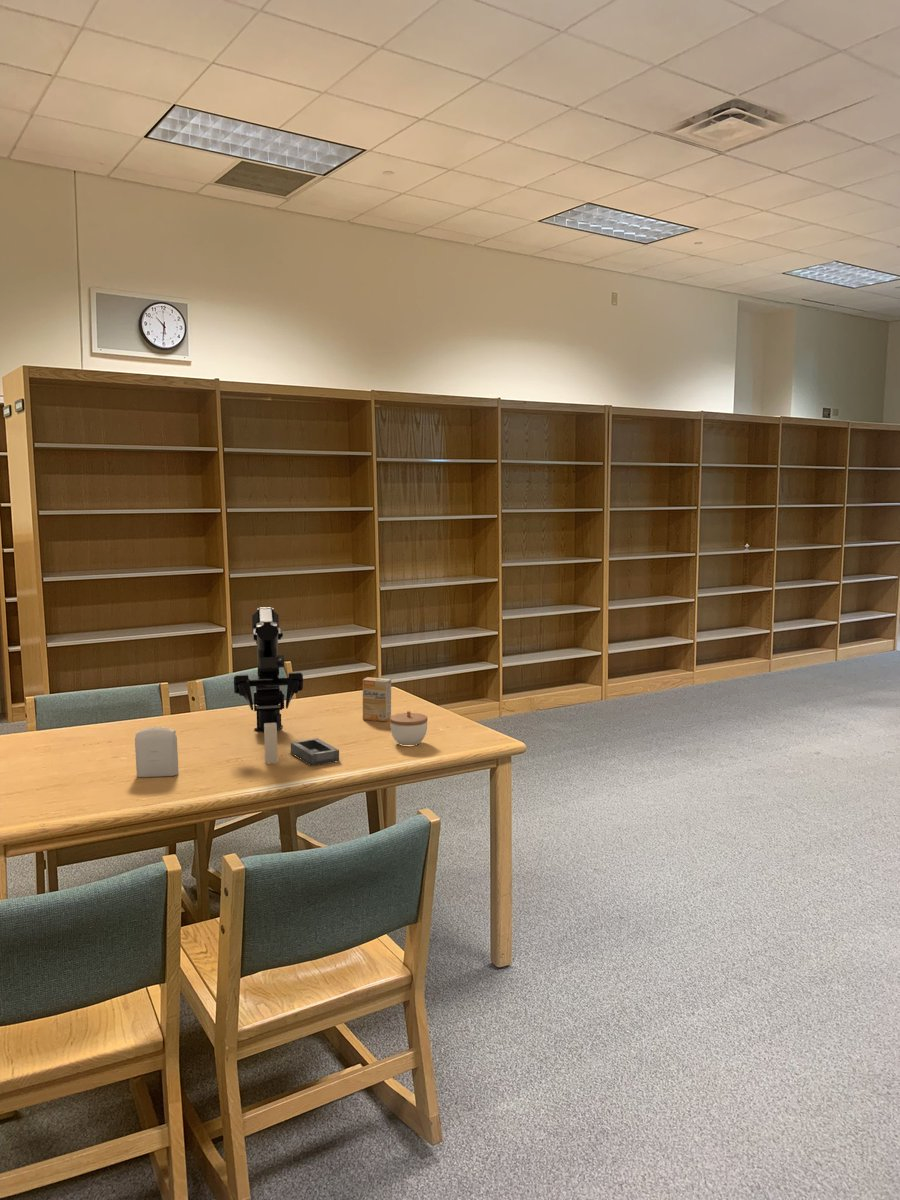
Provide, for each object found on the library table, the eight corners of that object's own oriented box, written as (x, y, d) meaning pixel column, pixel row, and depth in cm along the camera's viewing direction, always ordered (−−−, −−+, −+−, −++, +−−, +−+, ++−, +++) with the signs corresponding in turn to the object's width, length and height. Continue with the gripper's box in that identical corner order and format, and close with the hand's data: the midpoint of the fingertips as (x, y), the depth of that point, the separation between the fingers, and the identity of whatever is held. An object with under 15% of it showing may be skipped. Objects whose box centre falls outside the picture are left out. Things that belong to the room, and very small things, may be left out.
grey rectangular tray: (290, 752, 238) (290, 742, 238) (317, 748, 243) (317, 738, 242) (311, 766, 227) (311, 754, 226) (339, 761, 231) (339, 750, 231)
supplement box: (362, 720, 274) (361, 679, 273) (367, 716, 279) (367, 676, 277) (386, 722, 272) (386, 681, 270) (391, 718, 276) (391, 678, 275)
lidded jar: (413, 736, 255) (413, 705, 254) (434, 744, 247) (434, 712, 246) (383, 742, 249) (382, 710, 248) (403, 751, 240) (403, 718, 239)
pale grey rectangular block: (264, 759, 232) (264, 723, 231) (277, 758, 233) (276, 722, 232) (265, 764, 228) (264, 727, 227) (277, 763, 229) (276, 726, 228)
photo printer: (134, 778, 216) (132, 730, 215) (138, 773, 221) (136, 725, 219) (176, 777, 217) (174, 729, 216) (180, 772, 222) (178, 724, 220)
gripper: (233, 646, 237) (233, 694, 227) (302, 643, 241) (305, 691, 232) (234, 669, 245) (234, 716, 236) (300, 666, 250) (303, 712, 240)
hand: (269, 708), depth 236 cm, fingers open, 9 cm apart
